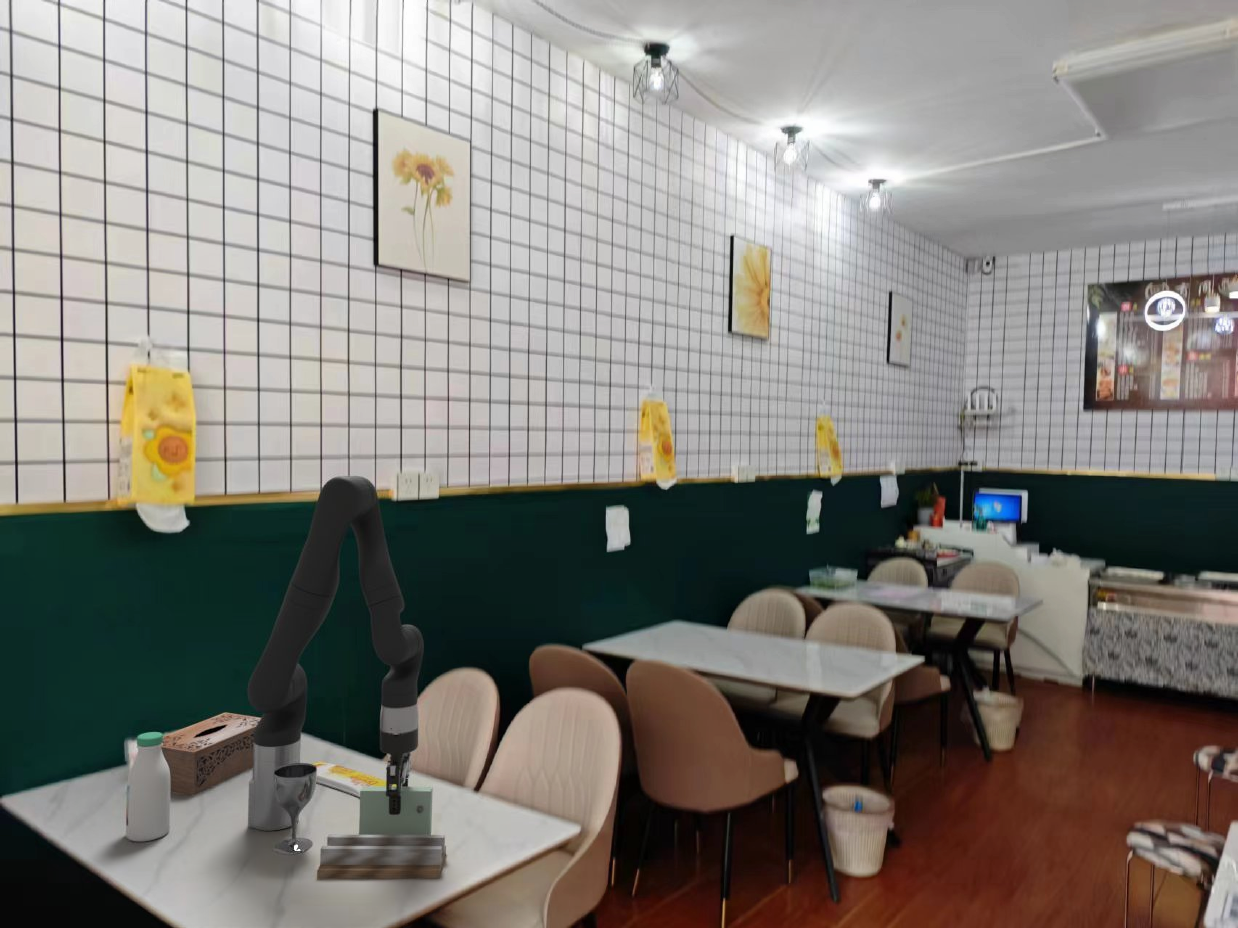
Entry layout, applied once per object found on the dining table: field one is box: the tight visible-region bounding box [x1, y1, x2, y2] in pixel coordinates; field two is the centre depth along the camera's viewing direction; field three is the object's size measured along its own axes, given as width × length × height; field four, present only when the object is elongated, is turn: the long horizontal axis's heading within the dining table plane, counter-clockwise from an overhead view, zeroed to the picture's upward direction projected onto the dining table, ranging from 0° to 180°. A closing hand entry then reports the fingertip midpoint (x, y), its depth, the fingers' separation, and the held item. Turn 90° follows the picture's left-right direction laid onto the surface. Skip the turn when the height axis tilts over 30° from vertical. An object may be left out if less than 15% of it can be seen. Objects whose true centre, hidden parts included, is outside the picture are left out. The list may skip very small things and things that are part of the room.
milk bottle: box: [125, 731, 171, 842], centre depth 177 cm, size 8×8×20 cm
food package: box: [311, 761, 396, 798], centre depth 207 cm, size 27×2×10 cm
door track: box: [316, 834, 447, 879], centre depth 167 cm, size 22×10×4 cm, turn 94°
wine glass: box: [273, 762, 317, 855], centre depth 174 cm, size 8×8×15 cm
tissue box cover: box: [161, 712, 261, 797], centre depth 211 cm, size 26×14×10 cm, turn 162°
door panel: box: [358, 786, 434, 835], centre depth 179 cm, size 14×3×10 cm, turn 94°
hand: (398, 805), depth 179 cm, fingers open, 8 cm apart
